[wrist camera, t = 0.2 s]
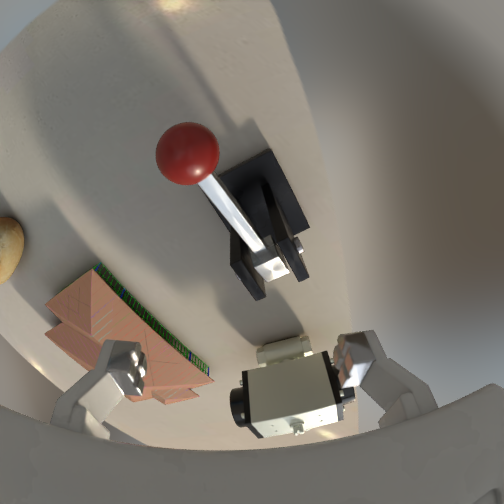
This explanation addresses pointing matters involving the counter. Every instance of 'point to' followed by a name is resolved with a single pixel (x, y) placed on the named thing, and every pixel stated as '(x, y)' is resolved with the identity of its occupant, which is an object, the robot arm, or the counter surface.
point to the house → (121, 337)
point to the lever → (215, 189)
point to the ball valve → (289, 390)
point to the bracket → (264, 216)
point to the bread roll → (9, 247)
